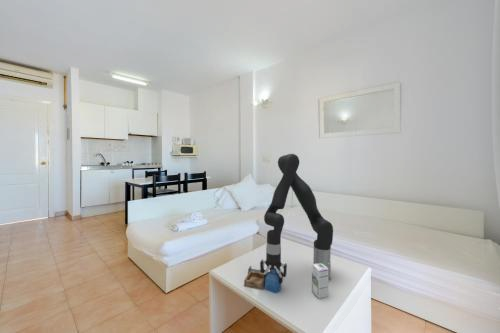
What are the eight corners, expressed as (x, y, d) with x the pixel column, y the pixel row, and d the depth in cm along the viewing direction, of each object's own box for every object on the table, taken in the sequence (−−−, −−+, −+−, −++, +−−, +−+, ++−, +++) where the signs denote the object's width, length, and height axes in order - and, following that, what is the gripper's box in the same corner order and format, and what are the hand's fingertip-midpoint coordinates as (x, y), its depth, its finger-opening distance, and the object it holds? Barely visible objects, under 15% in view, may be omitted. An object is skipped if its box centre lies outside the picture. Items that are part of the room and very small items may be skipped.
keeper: (267, 279, 117) (267, 273, 117) (262, 289, 107) (262, 284, 107) (250, 276, 120) (250, 270, 120) (244, 286, 110) (244, 280, 110)
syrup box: (328, 296, 102) (329, 267, 102) (318, 299, 101) (318, 269, 100) (321, 289, 108) (321, 262, 107) (311, 291, 106) (311, 263, 105)
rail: (283, 276, 120) (283, 271, 120) (281, 280, 116) (282, 275, 116) (250, 270, 126) (250, 266, 126) (248, 273, 122) (248, 269, 122)
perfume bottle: (276, 293, 104) (276, 270, 104) (265, 289, 108) (265, 266, 107) (281, 287, 110) (281, 264, 109) (270, 283, 113) (270, 261, 112)
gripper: (288, 249, 109) (288, 280, 110) (262, 246, 114) (261, 275, 114) (286, 256, 102) (285, 289, 103) (258, 251, 106) (257, 283, 107)
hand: (273, 281), depth 108 cm, fingers closed on perfume bottle, 7 cm apart
